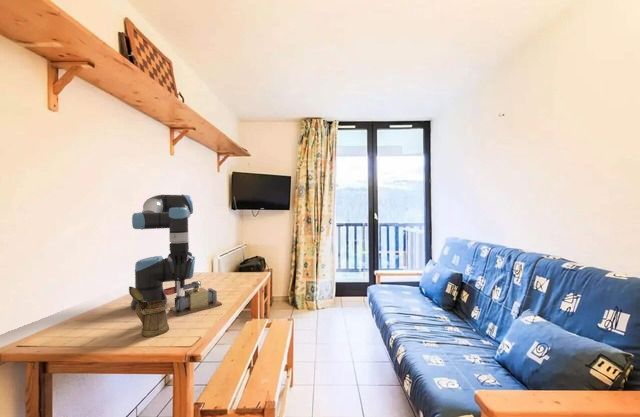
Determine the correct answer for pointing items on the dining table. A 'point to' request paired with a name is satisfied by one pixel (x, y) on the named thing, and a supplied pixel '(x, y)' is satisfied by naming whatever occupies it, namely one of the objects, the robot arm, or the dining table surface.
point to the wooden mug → (150, 314)
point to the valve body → (195, 301)
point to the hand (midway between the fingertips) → (180, 295)
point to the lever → (187, 286)
